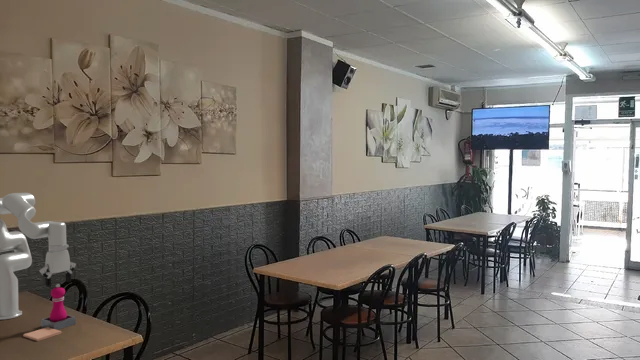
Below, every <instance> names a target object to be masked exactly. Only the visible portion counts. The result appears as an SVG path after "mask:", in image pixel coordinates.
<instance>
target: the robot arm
mask: <svg viewBox="0 0 640 360" xmlns="http://www.w3.org/2000/svg"><path fill="white" fill-rule="evenodd" d="M35 205H36V198H35V196H34V195H33V194H32V193H30V192H13V193H8V194H6V195H4V196H3V197H0V215H11V214H12V215H13V216H14V217H16V218H17V226H18V229H19V230H20V231H18V230H17V231H15V230H14V231H9V230H8V227H7V225H6V223H5V221H4V220H3V219H2V218H1V217H0V253H3V254H0V321H2V320H10V319H14V318H17V317H20V316H22V315H23V311H22V310H20V309H19V279H18V277H17V276H16V274H15V273H14V272H17V271H21V270H25V269H28V268H29V267H31V265H32V264H33V259H32V258H33V257H32V254H31V250H30V247H29V244H28V243H29V242H28V239H27V238H29V239H33V240H36V239H42V238H48V251H47V252H46V254H45V260H44V261H45V262H44V266H43V267H41V268H40V269H39V273H40V274H41V276H42V277H43V278H44V279H45V286H46V287H49V288H50V287H52V278H51V277H52V276H53V274H58V273H63V272H64V273H65V282H66V283H71V282H72V274H73V271H74V270H75V269H76V266H77V263H75V262H72V261H71V260H70V258H71V257H70V253H69V249H68V248H70V247H69V244H67V224H66V223H65V222H64V221H63V222H62V221H55V220H54V221H53V220H47V221H39V222H38V221H37V222H33V221H32V219H33V218H34V217H35V215H36V214H37V213H36V212H37V210H36V208H35V207H34V206H35ZM10 251H13V252H10ZM5 252H6V253H5Z"/></svg>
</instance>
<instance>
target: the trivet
mask: <svg viewBox="0 0 640 360" xmlns="http://www.w3.org/2000/svg"><path fill="white" fill-rule="evenodd" d="M61 334H63V331H62V330H60V329H58V330H56V329H52V328H49V327H46V328H44V327H42V328H41V329H38V330H37V329H36V330H33V331H29V332H26V333H24V334H23V338H27V339H29V340H33V341H36V342H39V341H43V340H45V339H50V338H52V337H55V336H58V335H61Z"/></svg>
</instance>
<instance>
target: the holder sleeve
mask: <svg viewBox="0 0 640 360" xmlns="http://www.w3.org/2000/svg"><path fill="white" fill-rule="evenodd" d="M76 317H77V316H74V315H70V314H67V317H66V319H65V320H61V321H58V322H52V321H51V320H50V316H49V317H44V318H41V319H40V327H41V328H46V327H49V328H52V329H56V330H62V329H64V328H68V327H70V326H74V325H76V324H77V322H76V321H77V318H76Z"/></svg>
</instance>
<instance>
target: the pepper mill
mask: <svg viewBox="0 0 640 360" xmlns="http://www.w3.org/2000/svg"><path fill="white" fill-rule="evenodd" d="M65 294H66V289H65V288H64V287H62V286H61V284H60V283H57V284H56V285H55V287H54V288H52V289H51V292H50V295H51V297H52V298H51V300H52V303H53V304H52V309H51V311H50V314H49V317H50V320H51V321H52V322H58V321H61V320H65V319H66V317H67V315H68V314H67V310H66V309H65V306H64V300H65Z"/></svg>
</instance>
